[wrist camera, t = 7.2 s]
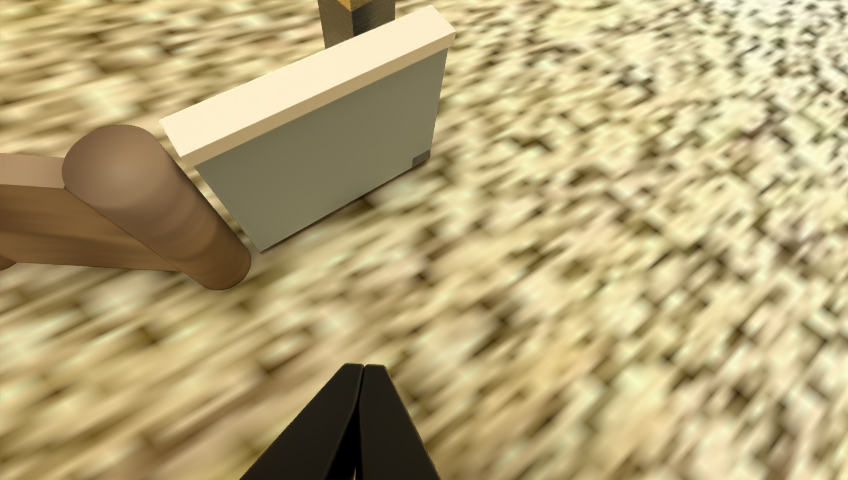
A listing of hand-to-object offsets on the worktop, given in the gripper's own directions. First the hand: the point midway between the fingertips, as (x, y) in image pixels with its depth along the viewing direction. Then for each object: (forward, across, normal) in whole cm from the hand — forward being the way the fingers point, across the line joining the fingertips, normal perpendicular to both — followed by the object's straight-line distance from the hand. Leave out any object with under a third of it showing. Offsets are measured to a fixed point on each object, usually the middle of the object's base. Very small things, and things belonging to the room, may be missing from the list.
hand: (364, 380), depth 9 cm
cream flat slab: (+17, +3, +1) cm, 18 cm away
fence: (+14, +15, +4) cm, 21 cm away
